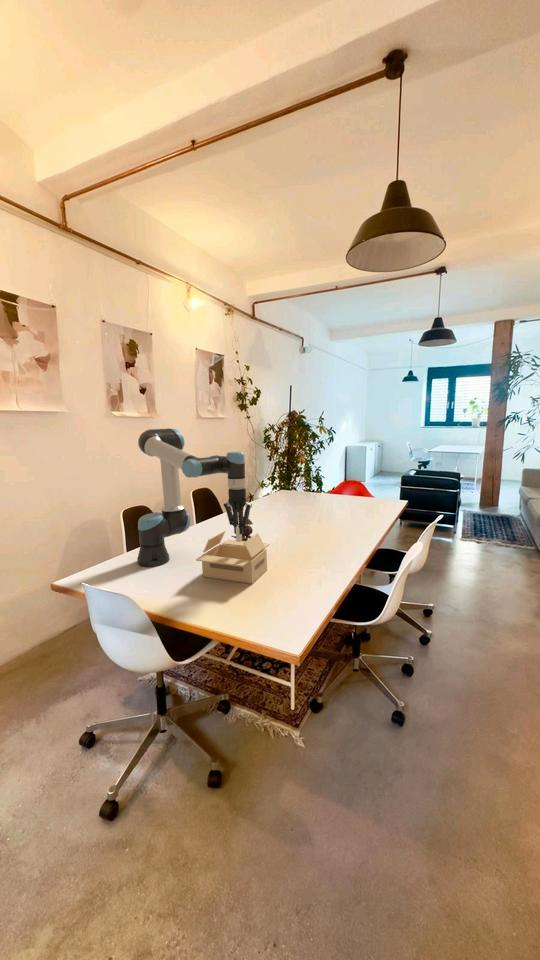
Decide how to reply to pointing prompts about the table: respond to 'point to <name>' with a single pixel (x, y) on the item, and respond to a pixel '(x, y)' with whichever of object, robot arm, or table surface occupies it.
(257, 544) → the flap
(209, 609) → the table surface
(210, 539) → the flap
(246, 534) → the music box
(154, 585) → the table surface
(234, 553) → the carton
